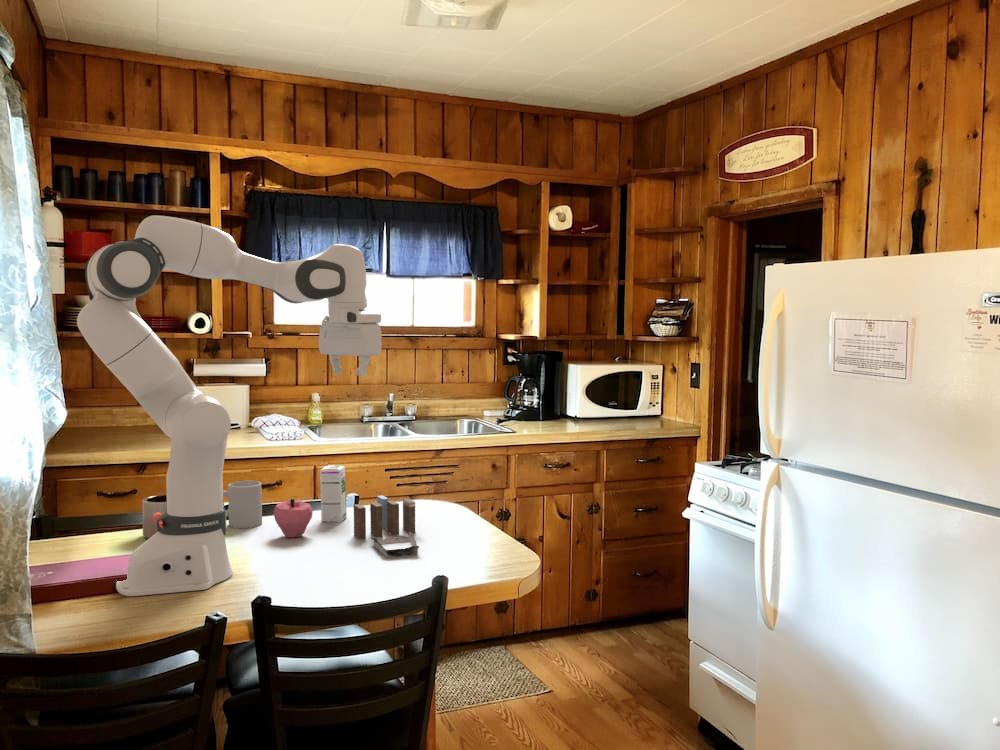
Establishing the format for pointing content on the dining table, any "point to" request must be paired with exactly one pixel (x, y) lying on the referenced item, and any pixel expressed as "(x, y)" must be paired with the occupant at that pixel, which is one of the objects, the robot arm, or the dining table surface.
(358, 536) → the domino
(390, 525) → the domino
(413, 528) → the domino
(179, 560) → the robot arm
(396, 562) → the dining table surface
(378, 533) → the domino
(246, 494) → the mug
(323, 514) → the syrup box
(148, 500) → the planter
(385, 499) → the domino
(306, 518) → the apple
